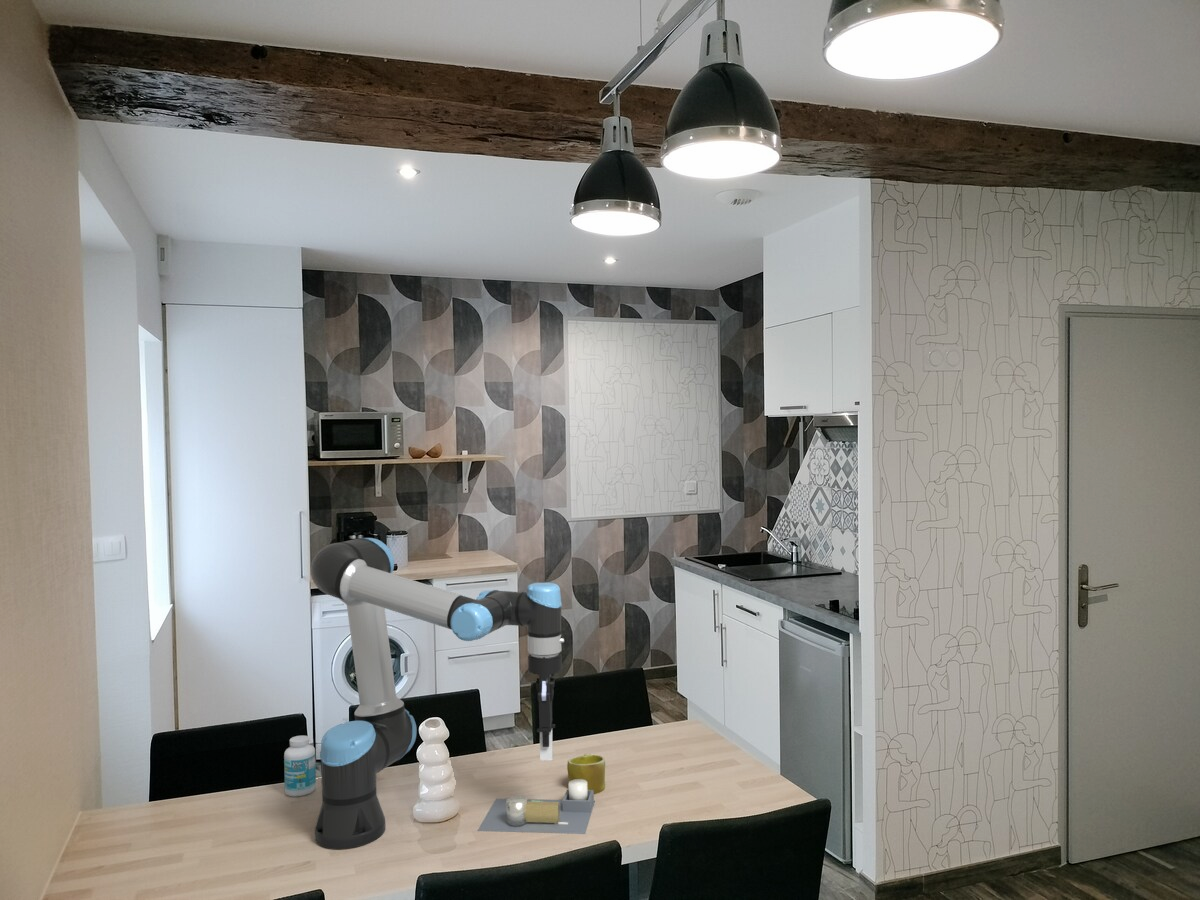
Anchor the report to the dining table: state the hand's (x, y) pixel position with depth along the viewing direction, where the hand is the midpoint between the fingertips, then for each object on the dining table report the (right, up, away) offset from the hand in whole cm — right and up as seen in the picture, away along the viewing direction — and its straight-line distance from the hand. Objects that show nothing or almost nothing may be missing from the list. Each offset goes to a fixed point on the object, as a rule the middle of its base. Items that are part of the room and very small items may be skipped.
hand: (546, 759), depth 185 cm
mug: (+9, -16, +22) cm, 28 cm away
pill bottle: (-64, -18, +25) cm, 71 cm away
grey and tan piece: (-3, -14, +1) cm, 15 cm away
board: (-2, -16, +5) cm, 17 cm away
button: (+7, -13, +9) cm, 18 cm away
